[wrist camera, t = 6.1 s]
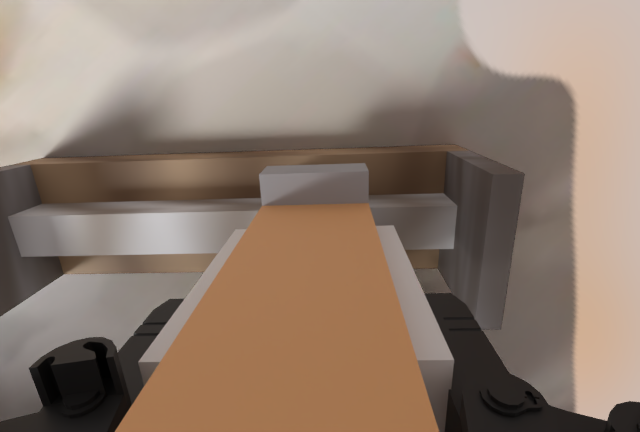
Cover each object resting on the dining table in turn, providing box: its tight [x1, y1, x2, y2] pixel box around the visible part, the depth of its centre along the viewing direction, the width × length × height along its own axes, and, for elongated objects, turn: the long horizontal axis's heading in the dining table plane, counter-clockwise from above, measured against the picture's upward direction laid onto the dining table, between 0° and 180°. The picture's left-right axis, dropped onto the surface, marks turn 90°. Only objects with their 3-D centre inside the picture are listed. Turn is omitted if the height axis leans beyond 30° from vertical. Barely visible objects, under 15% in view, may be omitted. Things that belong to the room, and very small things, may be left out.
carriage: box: [115, 163, 439, 432], centre depth 11 cm, size 4×6×13 cm, turn 2°
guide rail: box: [0, 145, 525, 330], centre depth 16 cm, size 22×6×7 cm, turn 92°
